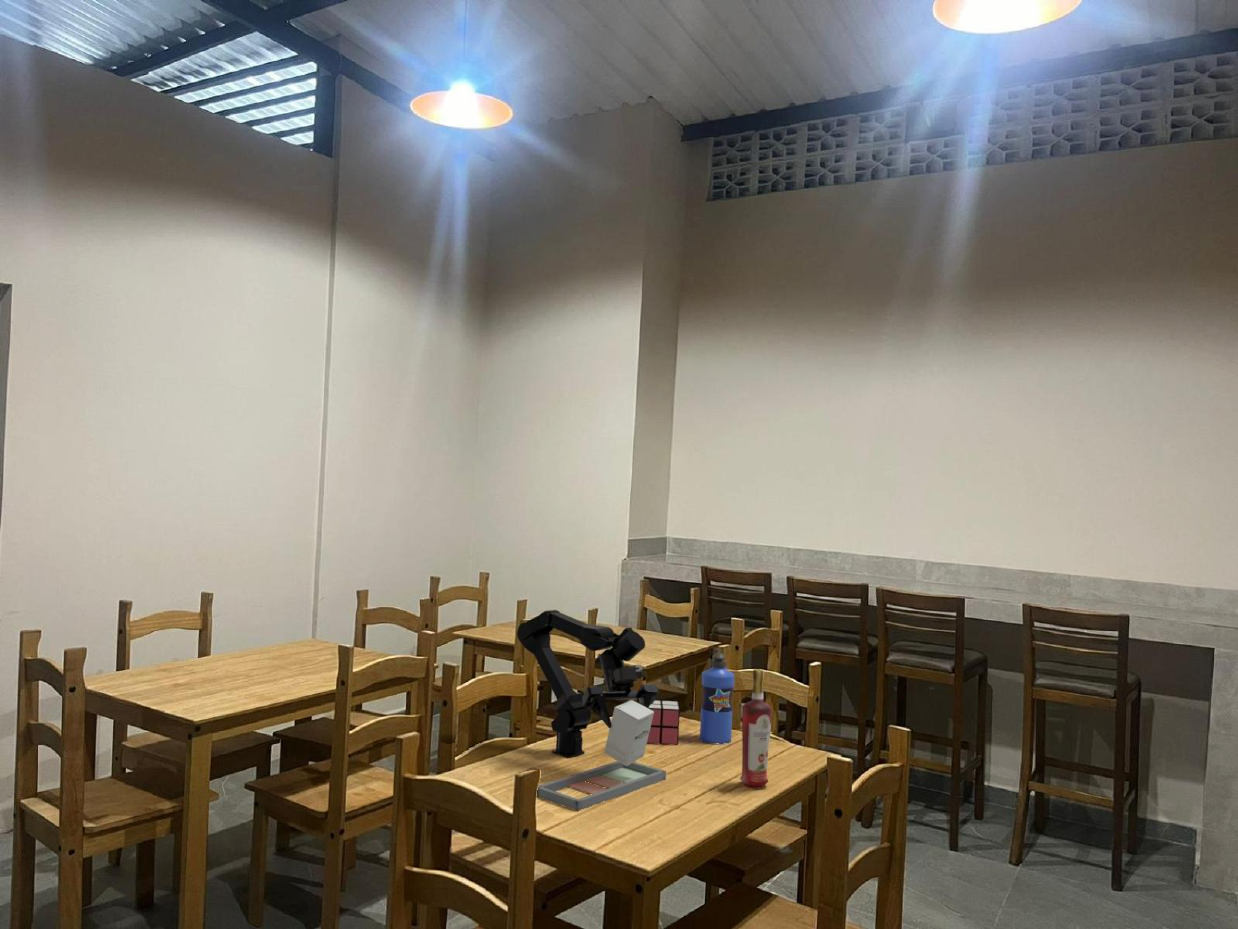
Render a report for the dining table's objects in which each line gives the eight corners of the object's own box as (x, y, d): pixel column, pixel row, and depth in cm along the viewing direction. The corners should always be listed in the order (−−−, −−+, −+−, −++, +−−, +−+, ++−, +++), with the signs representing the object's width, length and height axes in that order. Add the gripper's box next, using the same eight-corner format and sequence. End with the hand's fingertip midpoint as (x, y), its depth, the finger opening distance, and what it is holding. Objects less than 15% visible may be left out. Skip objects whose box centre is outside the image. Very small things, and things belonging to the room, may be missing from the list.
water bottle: (695, 735, 263) (699, 649, 264) (726, 735, 265) (729, 650, 265) (704, 744, 254) (708, 655, 255) (735, 744, 256) (739, 656, 256)
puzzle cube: (678, 745, 252) (679, 709, 252) (642, 743, 252) (644, 707, 252) (676, 736, 262) (678, 701, 262) (642, 734, 262) (643, 699, 262)
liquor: (759, 779, 225) (764, 666, 226) (774, 788, 218) (779, 672, 219) (733, 781, 222) (738, 667, 223) (748, 791, 215) (753, 673, 216)
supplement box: (626, 767, 215) (638, 719, 212) (602, 753, 219) (613, 706, 216) (644, 758, 221) (655, 711, 218) (620, 744, 225) (631, 698, 222)
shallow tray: (534, 795, 205) (534, 787, 205) (623, 766, 230) (623, 759, 230) (578, 811, 196) (578, 802, 196) (665, 779, 221) (666, 771, 221)
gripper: (588, 653, 220) (601, 710, 210) (658, 652, 227) (674, 707, 217) (576, 678, 228) (588, 734, 217) (644, 676, 234) (659, 731, 224)
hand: (628, 726), depth 218 cm, fingers closed on supplement box, 9 cm apart
